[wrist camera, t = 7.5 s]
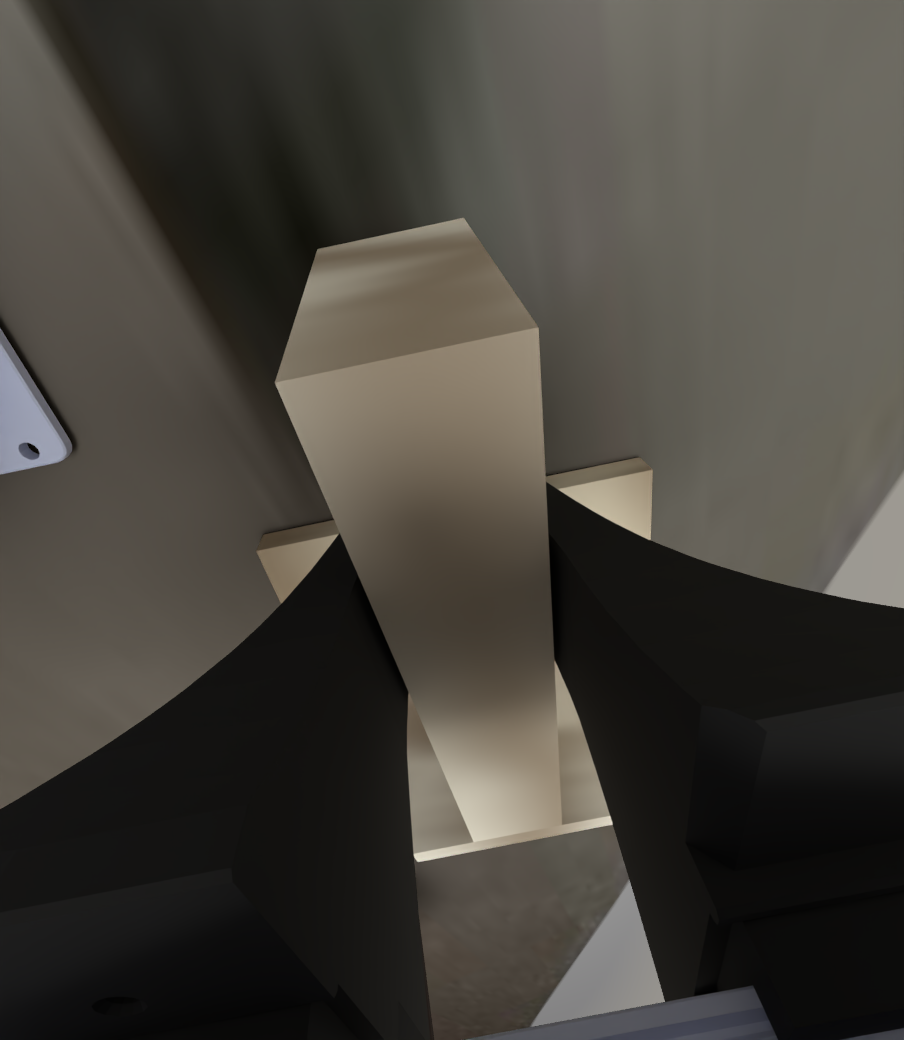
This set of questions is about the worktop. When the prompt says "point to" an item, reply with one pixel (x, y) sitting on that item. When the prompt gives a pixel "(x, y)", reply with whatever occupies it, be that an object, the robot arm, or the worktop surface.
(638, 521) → the wooden board
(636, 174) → the worktop surface
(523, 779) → the tall cream square post
